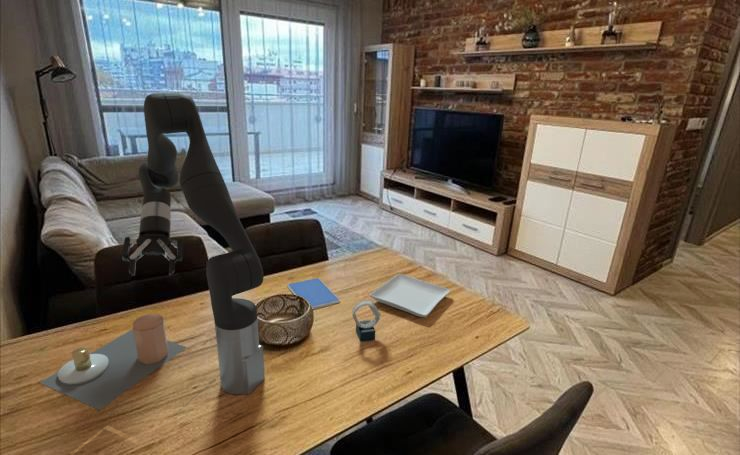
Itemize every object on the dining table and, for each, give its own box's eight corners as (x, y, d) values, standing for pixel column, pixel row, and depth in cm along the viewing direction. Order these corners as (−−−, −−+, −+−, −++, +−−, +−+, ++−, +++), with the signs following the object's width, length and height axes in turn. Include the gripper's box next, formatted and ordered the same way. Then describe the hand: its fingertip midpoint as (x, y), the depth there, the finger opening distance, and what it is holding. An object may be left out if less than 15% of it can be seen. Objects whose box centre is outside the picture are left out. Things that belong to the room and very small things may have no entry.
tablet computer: (286, 286, 142) (286, 283, 141) (318, 279, 148) (318, 276, 147) (305, 312, 126) (305, 309, 126) (341, 303, 132) (341, 300, 132)
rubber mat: (187, 348, 106) (186, 347, 106) (99, 412, 85) (99, 409, 84) (133, 330, 112) (132, 328, 112) (39, 384, 91) (39, 382, 91)
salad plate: (450, 297, 139) (451, 288, 138) (425, 324, 122) (426, 314, 121) (398, 280, 150) (398, 272, 148) (367, 303, 133) (368, 294, 131)
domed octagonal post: (173, 351, 104) (168, 317, 100) (152, 366, 98) (146, 331, 95) (155, 344, 106) (149, 311, 103) (133, 359, 100) (126, 324, 97)
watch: (381, 339, 113) (383, 305, 110) (354, 342, 111) (355, 308, 108) (376, 328, 118) (377, 295, 115) (349, 331, 116) (350, 298, 113)
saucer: (118, 363, 98) (117, 360, 98) (77, 389, 90) (76, 386, 89) (90, 353, 102) (90, 349, 101) (48, 377, 93) (47, 373, 93)
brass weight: (94, 364, 96) (91, 349, 95) (81, 372, 93) (77, 357, 92) (85, 361, 97) (82, 346, 96) (72, 369, 94) (68, 353, 93)
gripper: (125, 213, 105) (118, 268, 97) (184, 215, 111) (182, 268, 104) (127, 227, 111) (121, 280, 103) (183, 229, 117) (181, 279, 109)
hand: (152, 274), depth 103 cm, fingers open, 8 cm apart
